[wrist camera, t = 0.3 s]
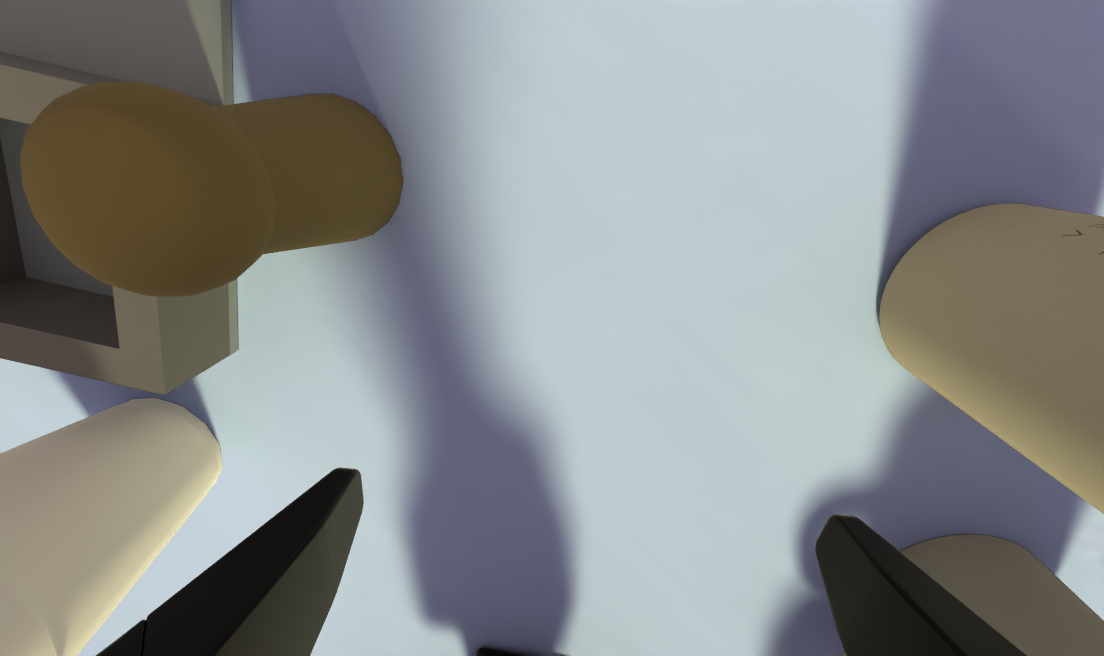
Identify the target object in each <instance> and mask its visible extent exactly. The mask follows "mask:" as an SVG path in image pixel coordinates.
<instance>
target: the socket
mask: <svg viewBox="0 0 1104 656" xmlns="http://www.w3.org/2000/svg"><path fill="white" fill-rule="evenodd" d="M100 82H141V83H148V84H155V85H158V86H161V87H164V88H167V89H170V90H173V91H177V92H180V93H183V94H186V95H189V96H191V97H193V98H195V99H197V100H200V101H202V102H204V103H206V104H207V105H209V106H210V107H217V106H225V105H232V104H233V69H232V20H231V0H0V358H2V359H6V360H11V361H15V362H20V363H24V364H29V365H33V366H38V367H42V368H47V369H51V370H55V371H60V372H64V373H69V374H73V375H78V376H82V377H87V378H91V379H96V380H100V381H105V382H109V383H113V384H118V385H122V386H127V387H131V388H136V389H140V390H145V391H149V392H154V393H158V394H162V395H166V394H168V393H169V392H171V391H172V390H174V389H176V388H177V387H179V386H181V385H182V384H184V383H185V382H187V381H189V380H190V379H192V378H194V377H195V376H197V375H198V374H200V373H202V372H203V371H205V370H207V369H208V368H210V367H211V366H213V365H215V364H216V363H218V362H220V361H221V360H223V359H224V358H226V357H228V356H229V355H231V354H233V353H234V352H236V351H237V350H238V312H237V279H236V280H234V281H232V282H229V283H227V284H225V285H223V286H220V287H217V288H215V289H212V290H209V291H206V292H203V293H200V294H197V295H192V296H180V297H156V296H146V295H142V294H138V293H135V292H131V291H128V290H125V289H122V288H118V287H115V286H112V285H109V284H105V283H103V282H101V281H99V280H98V279H96V278H95V277H93V276H91V275H90V274H88V273H86V272H85V271H83V270H81V269H80V268H78V267H76V266H75V265H74V264H73V263H72V262H71V261H70V260H69V259H68V258H67V257H66V256H65V255H64V254H63V253H62V252H61V251H60V250H58V249H57V248H56V247H55V246H54V245H53V244H52V242H51V241H50V239H49V238H48V236H47V235H46V233H45V232H44V230H43V229H42V228H41V226H40V225H39V223H38V222H37V220H36V219H35V217H34V215H33V213H32V210H31V207H30V205H29V202H28V199H27V197H26V194H25V192H24V189H23V186H22V175H21V164H20V154H21V150H22V146H23V142H24V138H25V134H26V131H27V129H28V128H29V126H30V125H31V124H32V123H33V121H34V120H35V119H36V118H37V117H38V115H39V114H40V113H41V112H42V110H43V109H44V108H45V107H47V106H48V105H49V104H50V103H51V102H52V101H53V100H54V99H55V98H58V97H60V96H62V95H64V94H66V93H68V92H71V91H73V90H75V89H77V88H79V87H82V86H86V85H91V84H96V83H100Z"/></svg>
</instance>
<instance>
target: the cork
mask: <svg viewBox="0 0 1104 656" xmlns="http://www.w3.org/2000/svg"><path fill="white" fill-rule="evenodd" d="M20 164H21V175H22V186H23V189H24V192H25V194H26V197H27V199H28V202H29V205H30V207H31V210H32V213H33V215H34V217H35V219H36V220H37V222H38V223H39V225H40V226H41V228H42V229H43V230H44V232H45V233H46V235H47V236H48V238H49V239H50V241H51V242H52V244H53V245H54V246H55V247H56V248H57V249H58V250H60V251H61V252H62V253H63V254H64V255H65V256H66V257H67V258H68V259H69V260H70V261H71V262H72V263H73V264H74V265H75V266H76V267H78V268H80V269H81V270H83V271H85V272H86V273H88V274H90V275H91V276H93V277H95V278H96V279H98V280H99V281H101V282H103V283H105V284H109V285H112V286H115V287H118V288H122V289H125V290H128V291H131V292H135V293H138V294H142V295H146V296H156V297H180V296H192V295H197V294H200V293H203V292H206V291H209V290H212V289H215V288H217V287H220V286H223V285H225V284H227V283H229V282H232V281H234V280H236V279H237V278H238V277H239V276H240V275H241V274H242V273H243V272H245V271H246V270H247V269H248V268H249V267H250V266H251V265H252V264H254V263H255V262H256V261H257V260H258V259H259V258H260V257H261V256H262V255H263V254H267V253H274V252H281V251H287V250H294V249H301V248H307V247H314V246H321V245H328V244H334V243H341V242H348V241H355V240H358V239H361V238H363V237H366V236H369V235H372V234H374V233H375V232H377V231H378V230H379V229H380V228H381V227H383V226H384V225H385V224H386V223H387V222H389V220H390V218H391V217H392V215H393V213H394V211H395V210H396V208H397V206H398V204H399V200H400V195H401V190H402V185H403V178H402V169H401V160H400V157H399V154H398V152H397V150H396V147H395V145H394V142H393V140H392V138H391V136H390V134H389V133H388V132H387V130H386V129H385V128H384V127H383V125H382V124H381V123H380V122H379V120H378V119H377V118H376V116H374V115H373V114H372V113H370V112H369V111H368V110H366V109H365V108H363V107H362V106H361V105H359V104H358V103H356V102H355V101H352V100H349V99H346V98H343V97H340V96H337V95H334V94H308V95H300V96H293V97H285V98H277V99H270V100H262V101H255V102H247V103H240V104H232V105H225V106H217V107H210V106H209V105H207V104H206V103H204V102H202V101H200V100H197V99H195V98H193V97H191V96H189V95H186V94H183V93H180V92H177V91H173V90H170V89H167V88H164V87H161V86H158V85H155V84H148V83H141V82H100V83H96V84H91V85H86V86H82V87H79V88H77V89H75V90H73V91H71V92H68V93H66V94H64V95H62V96H60V97H58V98H55V99H54V100H53V101H52V102H51V103H50V104H49V105H48V106H47V107H45V108H44V109H43V110H42V112H41V113H40V114H39V115H38V117H37V118H36V119H35V120H34V121H33V123H32V124H31V125H30V126H29V128H28V129H27V131H26V134H25V138H24V142H23V146H22V150H21V154H20Z"/></svg>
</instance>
